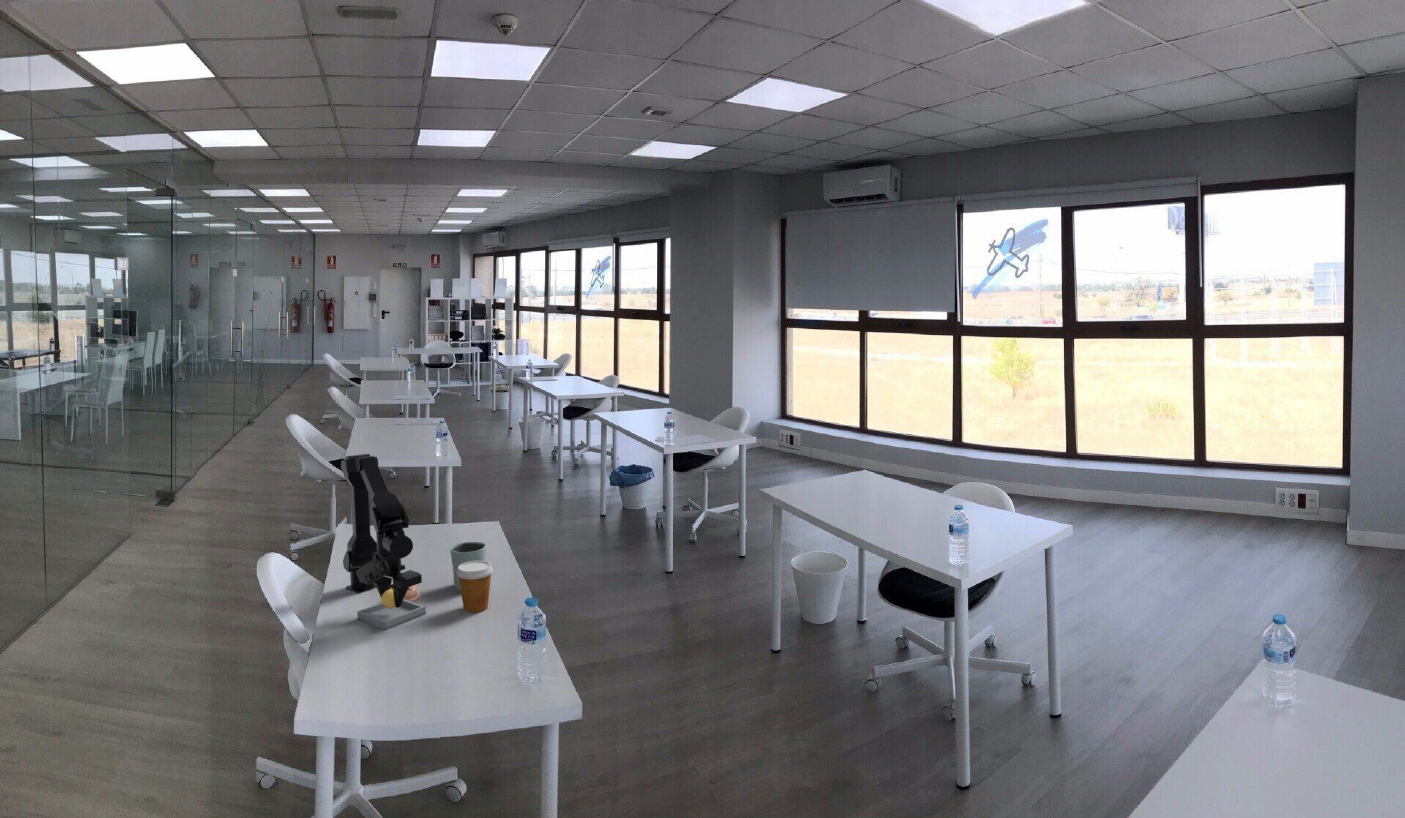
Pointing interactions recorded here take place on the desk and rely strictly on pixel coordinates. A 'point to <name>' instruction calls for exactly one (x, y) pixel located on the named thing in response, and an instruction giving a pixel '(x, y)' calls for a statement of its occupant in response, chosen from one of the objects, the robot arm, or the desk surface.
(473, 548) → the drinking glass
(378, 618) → the tray
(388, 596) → the ball
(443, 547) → the desk surface
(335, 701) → the desk surface
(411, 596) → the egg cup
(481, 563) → the disposable coffee cup
